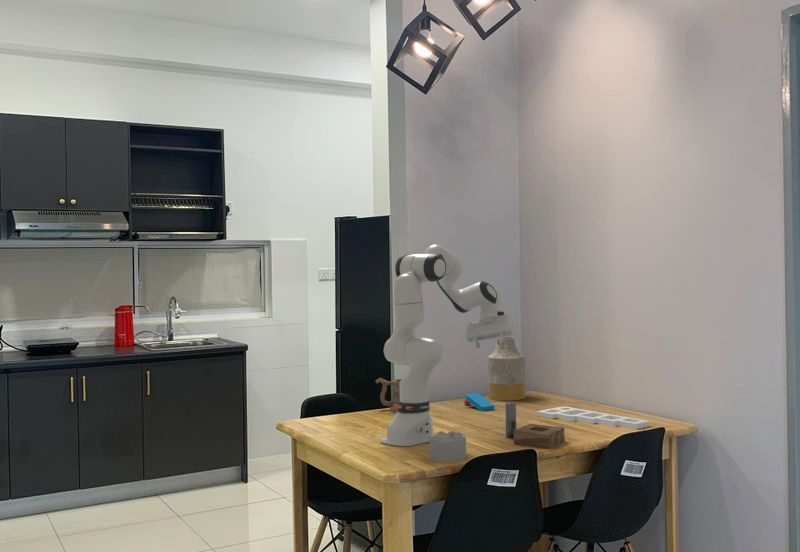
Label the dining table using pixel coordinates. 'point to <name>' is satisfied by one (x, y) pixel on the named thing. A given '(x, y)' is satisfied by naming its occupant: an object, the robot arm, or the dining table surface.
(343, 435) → the dining table surface
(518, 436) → the socket block
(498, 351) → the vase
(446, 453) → the lumpy-topped squat cylinder
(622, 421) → the holder
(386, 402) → the tankard
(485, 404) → the blue and red block
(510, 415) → the dark grey rounded rod
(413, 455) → the dining table surface
